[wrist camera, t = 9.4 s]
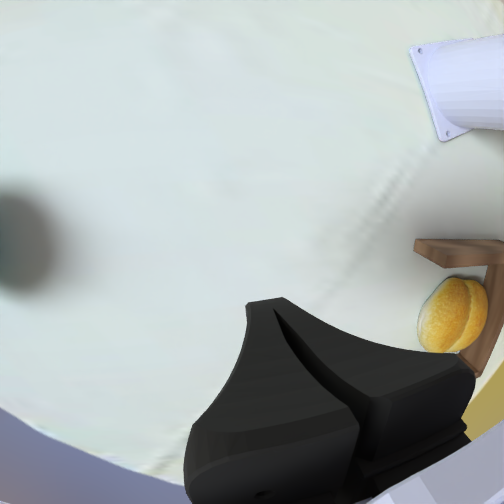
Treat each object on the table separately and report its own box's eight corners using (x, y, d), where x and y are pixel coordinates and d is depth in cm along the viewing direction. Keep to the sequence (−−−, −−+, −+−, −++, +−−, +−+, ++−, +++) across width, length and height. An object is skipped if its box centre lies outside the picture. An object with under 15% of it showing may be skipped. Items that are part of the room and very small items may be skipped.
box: (378, 382, 28) (396, 408, 25) (415, 239, 23) (446, 255, 20) (461, 358, 31) (480, 376, 27) (498, 239, 26) (525, 252, 22)
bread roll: (430, 271, 25) (458, 289, 21) (481, 278, 27) (506, 293, 24) (399, 349, 28) (421, 372, 24) (454, 344, 30) (475, 363, 26)
